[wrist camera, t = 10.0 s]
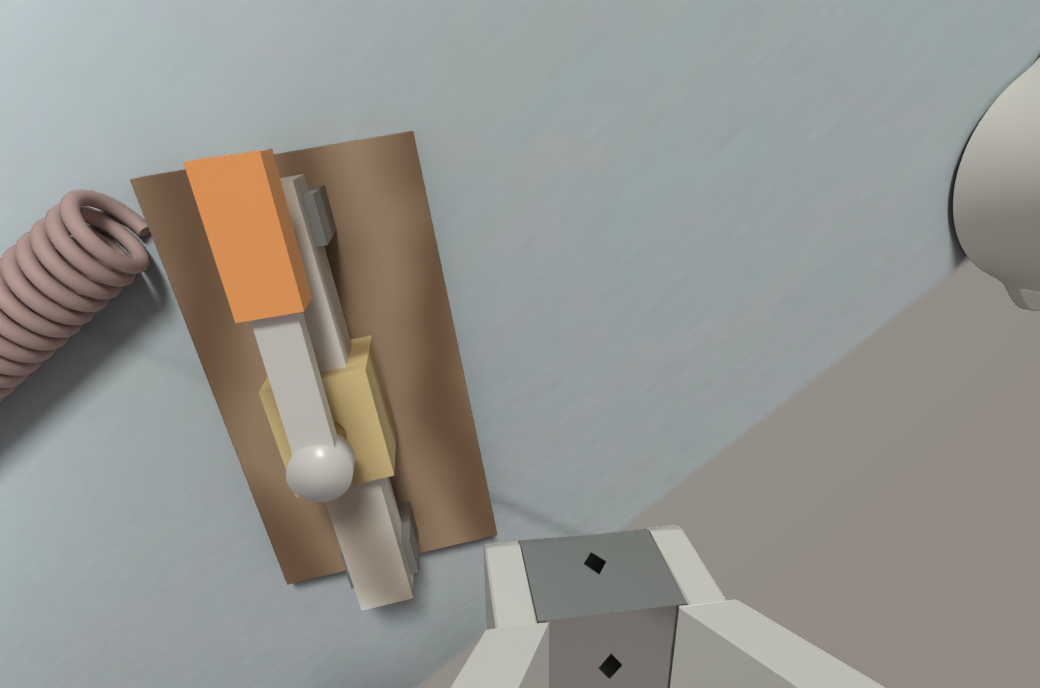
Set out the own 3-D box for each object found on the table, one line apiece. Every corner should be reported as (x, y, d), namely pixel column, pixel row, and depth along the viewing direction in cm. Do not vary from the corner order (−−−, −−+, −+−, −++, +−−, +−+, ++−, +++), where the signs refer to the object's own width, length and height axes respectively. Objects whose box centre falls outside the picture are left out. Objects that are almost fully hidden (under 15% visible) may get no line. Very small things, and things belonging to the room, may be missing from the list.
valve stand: (412, 130, 32) (413, 137, 24) (494, 520, 42) (515, 625, 34) (142, 176, 31) (39, 201, 22) (291, 568, 41) (259, 689, 32)
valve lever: (199, 158, 23) (180, 163, 21) (274, 148, 23) (262, 151, 21) (301, 486, 28) (294, 512, 27) (361, 474, 29) (358, 499, 27)
